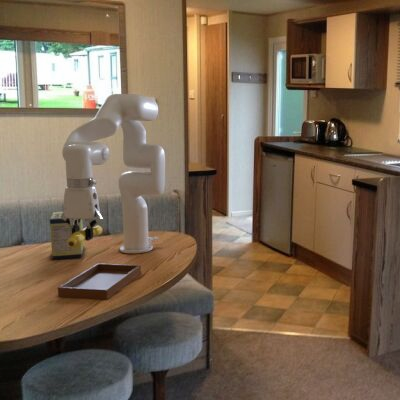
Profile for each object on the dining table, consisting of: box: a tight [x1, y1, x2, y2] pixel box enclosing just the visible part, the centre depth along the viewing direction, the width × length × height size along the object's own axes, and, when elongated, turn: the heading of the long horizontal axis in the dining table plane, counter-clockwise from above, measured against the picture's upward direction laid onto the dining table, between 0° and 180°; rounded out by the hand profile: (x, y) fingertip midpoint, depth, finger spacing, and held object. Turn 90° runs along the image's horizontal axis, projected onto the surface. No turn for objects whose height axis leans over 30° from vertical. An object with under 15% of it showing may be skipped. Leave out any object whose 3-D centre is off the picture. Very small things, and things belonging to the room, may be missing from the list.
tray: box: [57, 262, 142, 300], centre depth 183 cm, size 26×16×3 cm, turn 175°
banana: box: [67, 225, 104, 247], centre depth 181 cm, size 20×4×4 cm, turn 174°
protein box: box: [49, 210, 85, 261], centre depth 216 cm, size 10×16×16 cm
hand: (82, 238), depth 181 cm, fingers closed on banana, 3 cm apart
